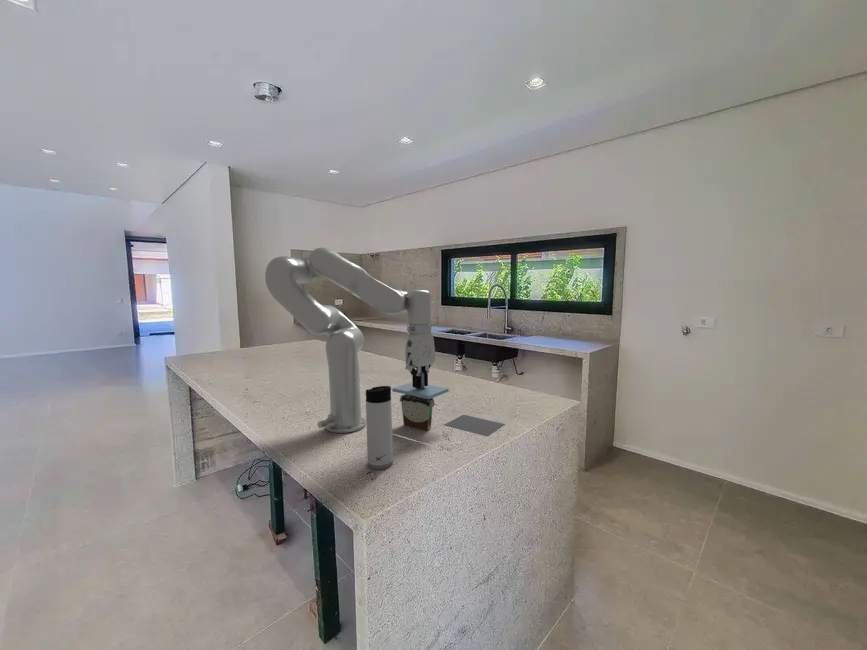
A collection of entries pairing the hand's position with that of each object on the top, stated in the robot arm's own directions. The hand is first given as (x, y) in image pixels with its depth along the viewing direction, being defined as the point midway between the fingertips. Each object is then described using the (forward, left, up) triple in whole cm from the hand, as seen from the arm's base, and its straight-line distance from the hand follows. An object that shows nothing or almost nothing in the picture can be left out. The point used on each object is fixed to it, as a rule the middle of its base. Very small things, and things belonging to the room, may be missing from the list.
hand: (420, 386), depth 114 cm
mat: (+10, -14, -13) cm, 22 cm away
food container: (0, 0, -13) cm, 13 cm away
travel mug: (-26, -8, -13) cm, 30 cm away
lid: (0, 0, -2) cm, 2 cm away
